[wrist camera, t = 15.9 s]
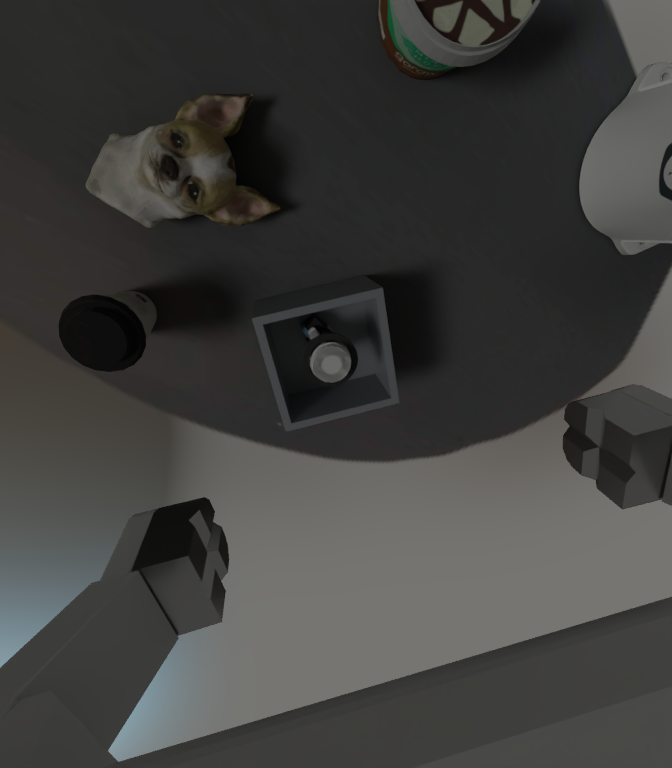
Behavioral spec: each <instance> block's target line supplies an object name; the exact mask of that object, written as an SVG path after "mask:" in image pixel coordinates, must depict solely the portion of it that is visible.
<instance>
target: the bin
mask: <svg viewBox="0 0 672 768" xmlns="http://www.w3.org/2000/svg"><path fill="white" fill-rule="evenodd" d="M313 313H315V314H316V315H317V316H318V318H319V319H320V320H321V322H322V324H323V325H324V326H325V328H327V324H328V325H329V326H330V327H331V329H332V330H333V332H334V333H337V334H340V335H343V336H345V337H346V338H348V339H349V340H350V341H351V342H352V343H353V345H354V346H355V348H356V351H357V354H358V364H357V368H356V370H355V372H354V374H353V375H352V376H351V377H350V378H349V379H348V380H347V381H346V382H344V383H343V384H340V385H338V386H334V387H324V386H320V385H317V384H315V383H313V382H312V381H311V380H310V379H309V378H308V377H307V376H306V374H305V372H304V370H303V366H302V355H303V351H304V349H305V347H306V346H307V344H308V342H307V341H306V340H305V338H306V337H307V336H306V334H305V333H304V332H303V331H302V329H301V326H300V325H301V324H302V323H304V322H305V321H306V320H307V319H308V318H309V317H310V316H311V315H312V314H313ZM252 321H253V324H254V327H255V331H256V334H257V337H258V341H259V344H260V347H261V351H262V354H263V357H264V361H265V364H266V367H267V371H268V374H269V377H270V381H271V384H272V387H273V391H274V394H275V397H276V401H277V404H278V407H279V411H280V414H281V417H282V421H283V424H284V427H285V431H286V432H287V431H291V430H295V429H299V428H303V427H306V426H310V425H314V424H318V423H322V422H326V421H330V420H334V419H338V418H342V417H346V416H350V415H354V414H358V413H362V412H365V411H369V410H373V409H377V408H381V407H385V406H389V405H393V404H397V403H399V396H398V389H397V383H396V376H395V369H394V362H393V355H392V348H391V341H390V334H389V327H388V320H387V313H386V306H385V299H384V292H383V287H381V286H380V285H378V284H377V283H375V282H374V281H372V280H371V279H369V278H368V277H366V276H365V275H363V276H359V277H355V278H350V279H346V280H342V281H337V282H333V283H329V284H324V285H320V286H316V287H311V288H307V289H303V290H299V291H294V292H290V293H286V294H281V295H277V296H273V297H268V298H264V299H260V300H256V301H255V303H254V309H253V315H252ZM326 323H327V324H326ZM341 343H342V342H341ZM342 345H343V346H344V347H346V349H347V350H348V347H347V346H346V345H345V344H343V343H342ZM348 351H349V350H348ZM308 364H309V366H310V355H309V359H308Z"/></svg>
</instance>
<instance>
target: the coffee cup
mask: <svg viewBox="0 0 672 768" xmlns="http://www.w3.org/2000/svg"><path fill="white" fill-rule="evenodd" d="M156 319H157V311H156V308H155V305H154V304H153V302H152V301H151V300H150V299H149V298H148V297H147V296H146V295H144V294H142V293H140V292H136V291H124V292H118V293H113V294H107V295H89V296H82V297H80V298H78V299H76V300H74V301H72V302H70V303H69V305H68V306H67V307H66V308H65V309H64V310H63V312H62V315H61V318H60V320H59V337H60V339H61V341H62V344H63V346H64V348H65V349H66V351H67V352H68V353H69V354H70V355H71V357H72V358H74V359H75V360H76V361H78V362H79V363H81V364H82V365H84V366H86V367H89V368H91V369H94V370H99V371H107V372H112V371H119V370H124V369H126V368H128V367H130V366H132V365H134V364H135V363H136V362H137V361H138V360H139V359H140V358H141V357H142V354H143V352H144V349H145V347H146V341H147V339H148V337H149V334H150V332H151V330H152V328H153V326H154V324H155V322H156Z"/></svg>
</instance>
